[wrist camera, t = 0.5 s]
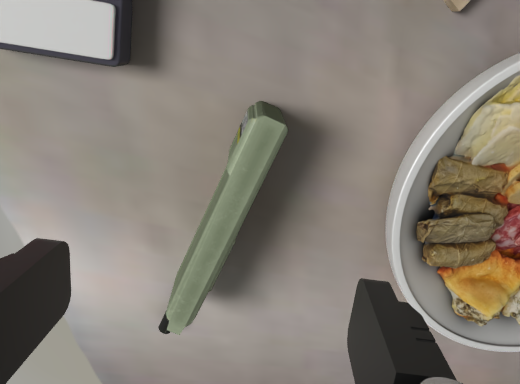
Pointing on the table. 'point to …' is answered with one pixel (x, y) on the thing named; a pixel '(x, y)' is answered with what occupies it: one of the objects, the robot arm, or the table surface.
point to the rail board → (456, 4)
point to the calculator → (69, 29)
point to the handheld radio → (225, 212)
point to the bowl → (463, 214)
